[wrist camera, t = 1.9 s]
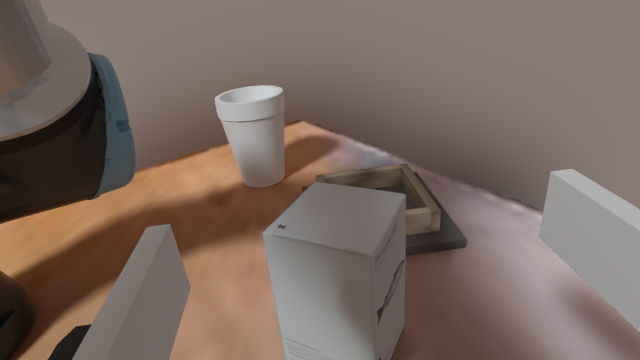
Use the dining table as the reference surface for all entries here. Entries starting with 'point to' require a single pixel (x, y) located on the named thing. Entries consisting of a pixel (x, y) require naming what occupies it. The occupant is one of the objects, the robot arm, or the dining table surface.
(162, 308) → the robot arm
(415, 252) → the keeper cradle
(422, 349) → the dining table surface
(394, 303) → the supplement box
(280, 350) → the dining table surface
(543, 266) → the dining table surface
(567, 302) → the dining table surface
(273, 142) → the foam cup
